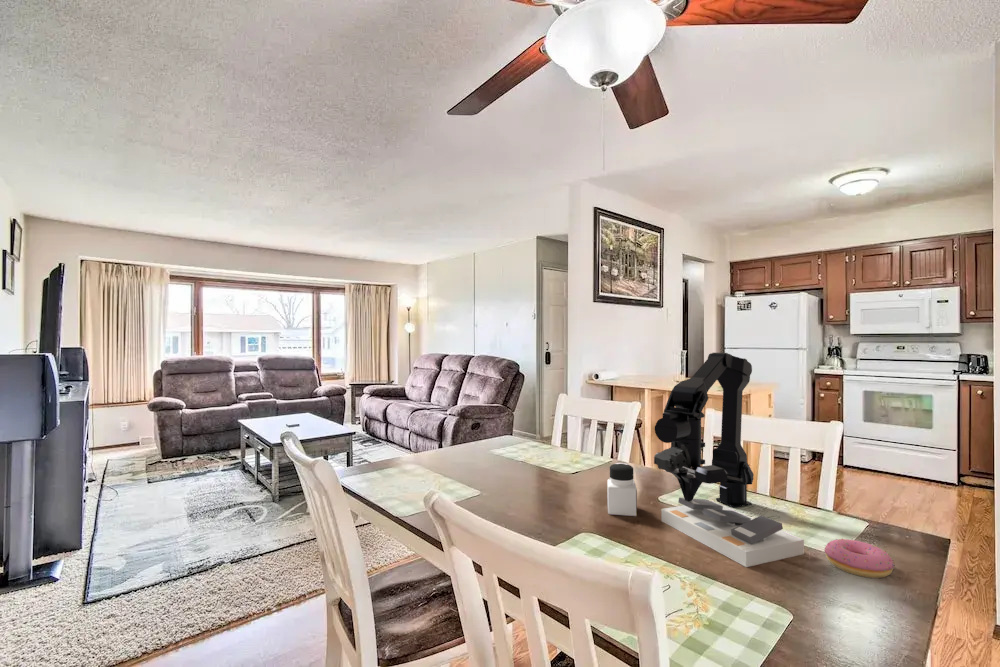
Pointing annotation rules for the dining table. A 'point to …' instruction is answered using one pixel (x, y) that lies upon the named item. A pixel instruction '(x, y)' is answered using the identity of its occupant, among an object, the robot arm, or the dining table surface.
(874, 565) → the doughnut
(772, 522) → the rocker
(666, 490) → the dining table surface
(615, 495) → the medicine bottle
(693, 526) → the switch unit
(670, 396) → the robot arm
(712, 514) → the rocker middle
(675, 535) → the dining table surface
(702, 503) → the block
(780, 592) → the dining table surface
